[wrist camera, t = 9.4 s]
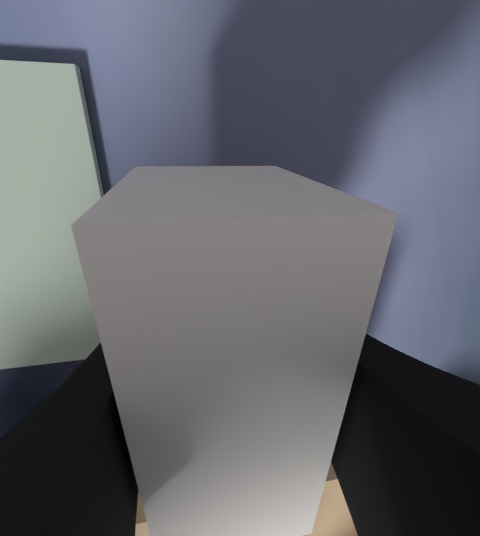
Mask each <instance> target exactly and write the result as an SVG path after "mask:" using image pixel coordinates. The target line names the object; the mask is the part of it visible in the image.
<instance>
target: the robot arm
mask: <svg viewBox="0 0 480 536" xmlns="http://www.w3.org/2000/svg"><path fill="white" fill-rule="evenodd" d="M331 463H332V465H333V468H334V471H335V473H336V476H337V479H338V481H339V484H340V487H341V490H342V492H343V495H344V498H345V501H346V504H347V506H348V509H349V512H350V515H351V517H352V520H353V523H354V526H355V529H356V532H357V535H358V536H480V385H479V384H476V383H473V382H471V381H468V380H465V379H463V378H460V377H458V376H455V375H453V374H450V373H448V372H445V371H443V370H440V369H438V368H435V367H433V366H431V365H428V364H426V363H424V362H421V361H419V360H417V359H415V358H413V357H411V356H408V355H406V354H404V353H402V352H400V351H398V350H396V349H394V348H392V347H390V346H388V345H386V344H384V343H382V342H380V341H378V340H376V339H375V338H373V337H371V336H369V335H367V334H366V335H365V338H364V342H363V346H362V349H361V353H360V357H359V360H358V364H357V368H356V371H355V375H354V379H353V382H352V386H351V390H350V393H349V397H348V401H347V404H346V408H345V412H344V416H343V419H342V423H341V427H340V430H339V434H338V438H337V441H336V445H335V449H334V452H333V456H332V460H331ZM137 501H138V485H137V482H136V478H135V474H134V470H133V466H132V462H131V458H130V454H129V450H128V446H127V442H126V439H125V435H124V431H123V427H122V423H121V419H120V415H119V411H118V407H117V403H116V400H115V396H114V392H113V388H112V384H111V380H110V376H109V372H108V368H107V364H106V361H105V357H104V353H103V349H102V345H101V342H100V343H99V345H98V346H97V347H96V348H95V349H94V350H93V351H92V353H91V354H90V355H89V356H88V357H87V358H86V359H85V360H84V362H83V363H82V364H81V365H80V366H79V367H78V368H77V369H76V370H75V371H74V372H73V373H72V374H71V375H70V376H69V377H68V378H67V379H66V380H65V381H64V382H63V384H62V385H61V386H60V387H59V388H57V389H56V390H55V391H54V392H53V393H52V394H51V395H50V396H49V397H48V398H47V399H46V400H45V401H44V402H43V403H42V404H40V405H39V406H38V407H37V408H36V409H35V410H34V411H33V412H32V413H30V414H29V415H28V416H27V417H26V418H25V419H24V420H22V421H21V422H20V423H19V424H18V425H17V426H15V427H14V428H13V429H12V430H10V431H9V432H8V433H7V434H5V435H4V436H3V437H2V438H1V439H0V536H135V529H136V514H137Z"/></svg>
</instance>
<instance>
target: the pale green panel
mask: <svg viewBox="0 0 480 536" xmlns="http://www.w3.org/2000/svg"><path fill="white" fill-rule="evenodd" d="M103 196H104V192H103V187H102V182H101V177H100V171H99V166H98V161H97V156H96V151H95V146H94V140H93V135H92V130H91V125H90V120H89V115H88V109H87V104H86V99H85V94H84V89H83V84H82V78H81V73H80V68H79V67H78V66H77V65H75V64H64V63H47V62H29V61H12V60H0V369H9V368H17V367H25V366H34V365H42V364H51V363H59V362H68V361H76V360H84V359H86V358H87V357H88V356H89V355H90V354H91V353H92V351H93V350H94V349H95V348H96V347H97V346H98V345H99V343H100V342H101V341H100V337H99V333H98V329H97V325H96V321H95V318H94V314H93V310H92V306H91V302H90V298H89V294H88V290H87V286H86V282H85V279H84V275H83V271H82V267H81V263H80V259H79V255H78V251H77V247H76V243H75V239H74V236H73V232H72V228H71V225H72V224H73V223H74V222H75V221H77V220H78V219H79V218H80V217H81V216H82V215H83V214H84V213H85V212H86V211H88V210H89V209H90V208H91V207H92V206H93V205H94V204H95V203H96V202H97V201H98V200H100V199H101V198H102V197H103Z"/></svg>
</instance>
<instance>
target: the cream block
mask: <svg viewBox="0 0 480 536" xmlns="http://www.w3.org/2000/svg"><path fill="white" fill-rule="evenodd" d="M398 214H399V213H398V212H395V211H392V210H390V209H387V208H385V207H382V206H379V205H377V204H374V203H371V202H369V201H366V200H364V199H361V198H358V197H356V196H353V195H351V194H348V193H345V192H343V191H340V190H337V189H335V188H332V187H330V186H327V185H324V184H322V183H319V182H317V181H314V180H311V179H309V178H306V177H303V176H301V175H298V174H296V173H293V172H290V171H288V170H285V169H282V168H280V167H277V166H136V167H134V168H133V169H132V170H131V171H130V172H129V173H128V174H127V175H126V176H125V177H124V178H122V179H121V180H120V181H119V182H118V183H117V184H116V185H115V186H114V187H113V188H112V189H110V190H109V191H108V192H107V193H106V194H105V195H104V196H103V197H102V198H101V199H100V200H98V201H97V202H96V203H95V204H94V205H93V206H92V207H91V208H90V209H89V210H88V211H86V212H85V213H84V214H83V215H82V216H81V217H80V218H79V219H78V220H77V221H75V222H74V223H73V224H72V225H71V228H72V232H73V236H74V239H75V243H76V247H77V251H78V255H79V259H80V263H81V267H82V271H83V275H84V279H85V282H86V286H87V290H88V294H89V298H90V302H91V306H92V310H93V314H94V318H95V321H96V325H97V329H98V333H99V337H100V341H101V345H102V349H103V353H104V357H105V361H106V364H107V368H108V372H109V376H110V380H111V384H112V388H113V392H114V396H115V400H116V403H117V407H118V411H119V415H120V419H121V423H122V427H123V431H124V435H125V439H126V442H127V446H128V450H129V454H130V458H131V462H132V466H133V470H134V474H135V478H136V482H137V485H138V489H139V493H140V497H141V501H142V505H143V509H144V513H145V517H146V521H147V524H148V528H149V532H150V536H303V535H307V534H311V533H312V529H313V526H314V522H315V518H316V515H317V511H318V507H319V504H320V500H321V496H322V493H323V489H324V485H325V482H326V478H327V474H328V471H329V467H330V463H331V460H332V456H333V452H334V449H335V445H336V441H337V438H338V434H339V430H340V427H341V423H342V419H343V416H344V412H345V408H346V404H347V401H348V397H349V393H350V390H351V386H352V382H353V379H354V375H355V371H356V368H357V364H358V360H359V357H360V353H361V349H362V346H363V342H364V338H365V335H366V331H367V327H368V324H369V320H370V316H371V313H372V309H373V305H374V302H375V298H376V294H377V291H378V287H379V283H380V280H381V276H382V272H383V269H384V265H385V261H386V258H387V254H388V250H389V247H390V243H391V239H392V236H393V232H394V228H395V225H396V221H397V217H398Z"/></svg>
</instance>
